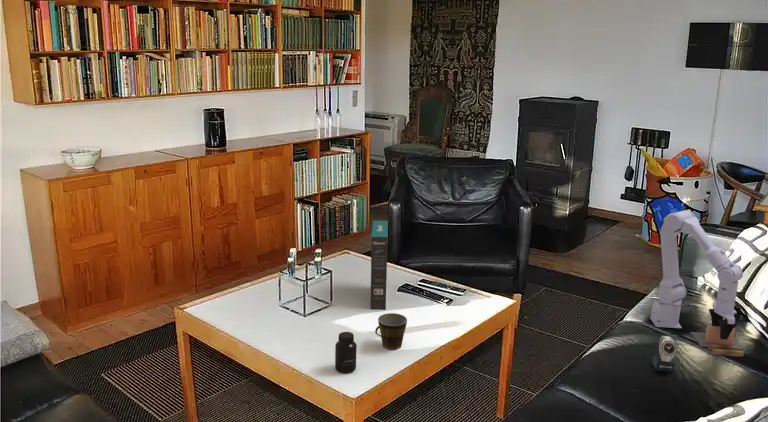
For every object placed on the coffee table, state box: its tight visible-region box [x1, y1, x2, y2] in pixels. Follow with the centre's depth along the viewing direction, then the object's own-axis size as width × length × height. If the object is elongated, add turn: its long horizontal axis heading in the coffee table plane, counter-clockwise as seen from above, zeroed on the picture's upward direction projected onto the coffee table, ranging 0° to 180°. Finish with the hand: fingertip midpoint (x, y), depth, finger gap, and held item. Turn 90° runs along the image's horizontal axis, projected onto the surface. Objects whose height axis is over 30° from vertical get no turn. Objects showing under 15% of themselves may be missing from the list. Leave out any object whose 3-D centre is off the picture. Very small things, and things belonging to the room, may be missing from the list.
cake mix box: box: [370, 220, 389, 311], centre depth 254 cm, size 22×6×30 cm, turn 179°
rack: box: [707, 344, 745, 358], centre depth 218 cm, size 10×5×2 cm, turn 83°
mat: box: [689, 331, 744, 351], centre depth 227 cm, size 14×11×1 cm
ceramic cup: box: [374, 312, 408, 351], centre depth 216 cm, size 13×10×10 cm
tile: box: [705, 325, 736, 345], centre depth 224 cm, size 9×2×6 cm, turn 83°
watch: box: [652, 335, 679, 373], centre depth 205 cm, size 6×8×11 cm
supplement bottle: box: [334, 331, 358, 375], centre depth 201 cm, size 7×7×12 cm
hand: (719, 334), depth 224 cm, fingers open, 7 cm apart
